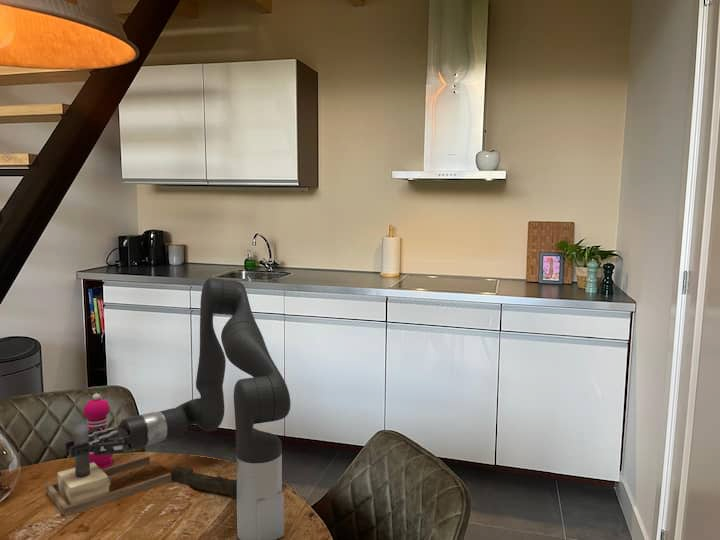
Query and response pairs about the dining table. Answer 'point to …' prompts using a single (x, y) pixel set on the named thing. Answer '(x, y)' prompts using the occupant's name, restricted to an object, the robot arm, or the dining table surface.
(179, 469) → the hand tool
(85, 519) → the dining table surface
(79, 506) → the bay
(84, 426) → the joystick
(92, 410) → the pepper mill
